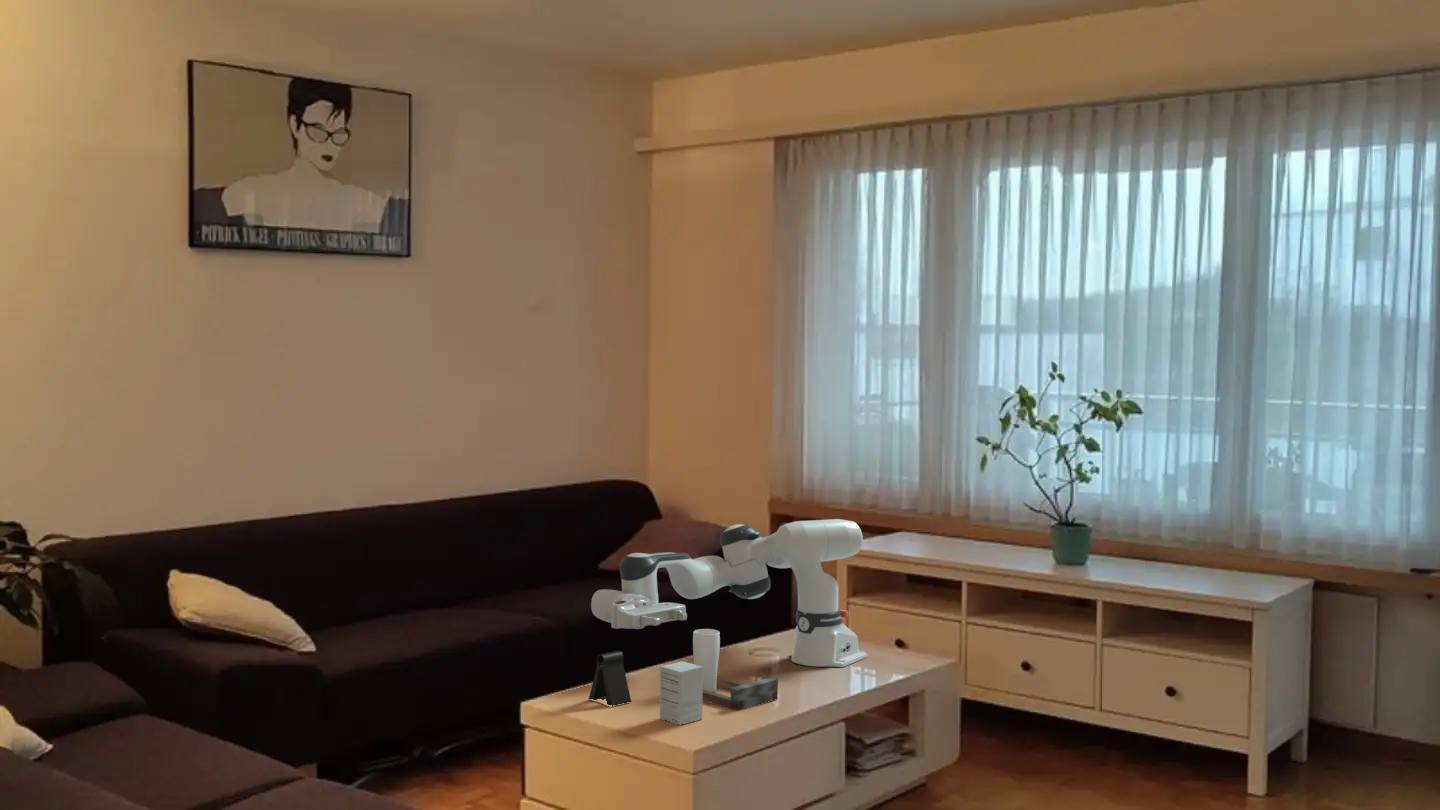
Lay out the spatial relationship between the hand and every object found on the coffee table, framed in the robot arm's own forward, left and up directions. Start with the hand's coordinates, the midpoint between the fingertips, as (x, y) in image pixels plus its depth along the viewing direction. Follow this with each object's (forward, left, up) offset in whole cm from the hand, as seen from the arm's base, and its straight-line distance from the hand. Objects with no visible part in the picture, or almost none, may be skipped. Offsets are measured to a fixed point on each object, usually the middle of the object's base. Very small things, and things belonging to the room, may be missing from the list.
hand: (671, 619), depth 349 cm
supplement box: (+22, +26, -16) cm, 38 cm away
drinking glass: (0, +12, -16) cm, 21 cm away
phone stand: (+24, +3, -16) cm, 29 cm away
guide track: (0, +19, -16) cm, 25 cm away
